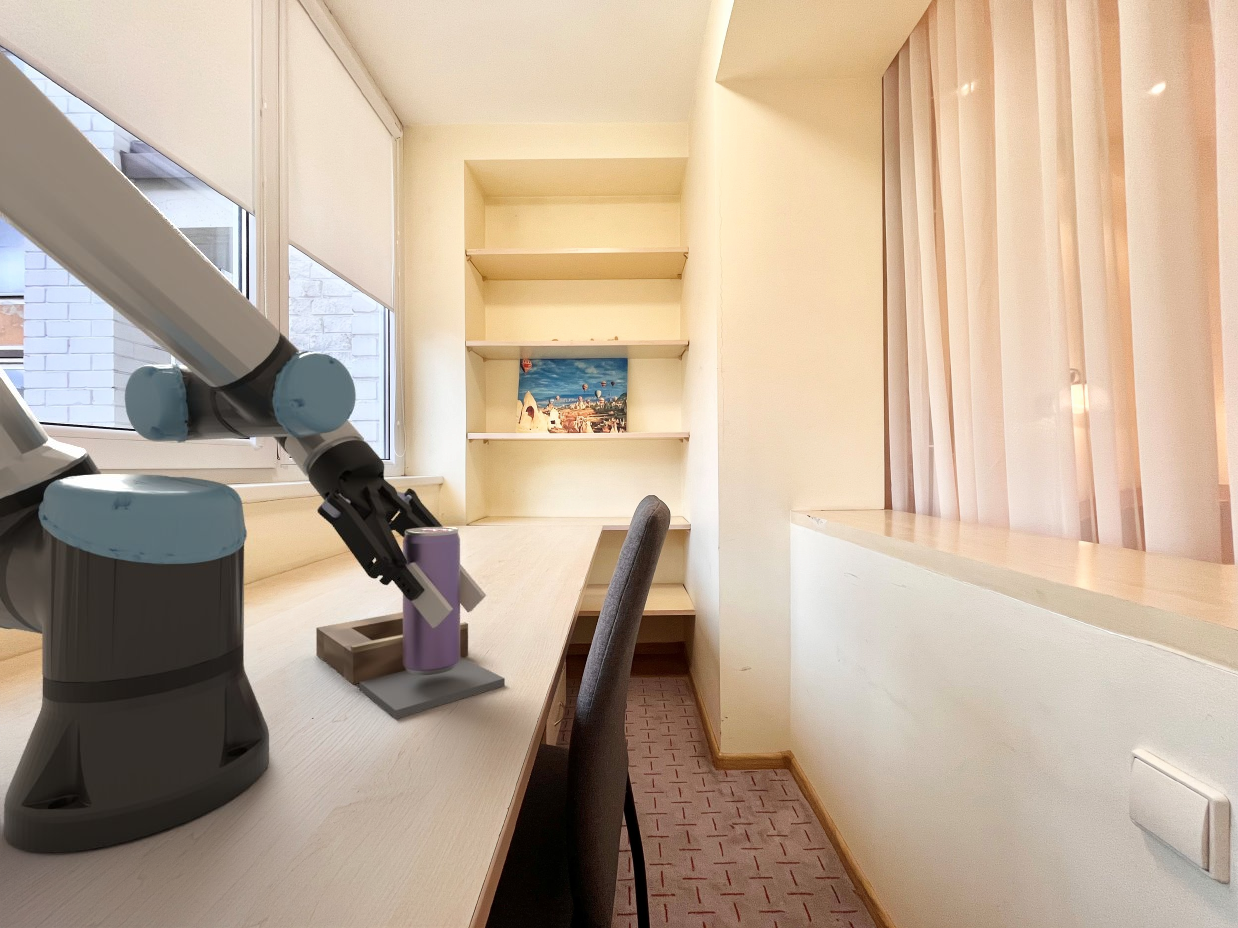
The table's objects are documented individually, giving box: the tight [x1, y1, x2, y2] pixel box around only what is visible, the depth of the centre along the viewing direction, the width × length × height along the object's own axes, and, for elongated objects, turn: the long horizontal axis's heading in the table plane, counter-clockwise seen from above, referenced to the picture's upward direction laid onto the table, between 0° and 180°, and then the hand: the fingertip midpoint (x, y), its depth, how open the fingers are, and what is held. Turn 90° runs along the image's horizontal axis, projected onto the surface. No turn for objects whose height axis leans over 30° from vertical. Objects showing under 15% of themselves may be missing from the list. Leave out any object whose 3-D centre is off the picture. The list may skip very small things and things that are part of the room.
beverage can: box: [402, 526, 461, 675], centre depth 62 cm, size 6×6×15 cm
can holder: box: [315, 611, 469, 685], centre depth 73 cm, size 14×14×4 cm
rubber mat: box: [358, 657, 506, 719], centre depth 62 cm, size 12×10×1 cm
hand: (460, 610), depth 61 cm, fingers closed on beverage can, 6 cm apart
